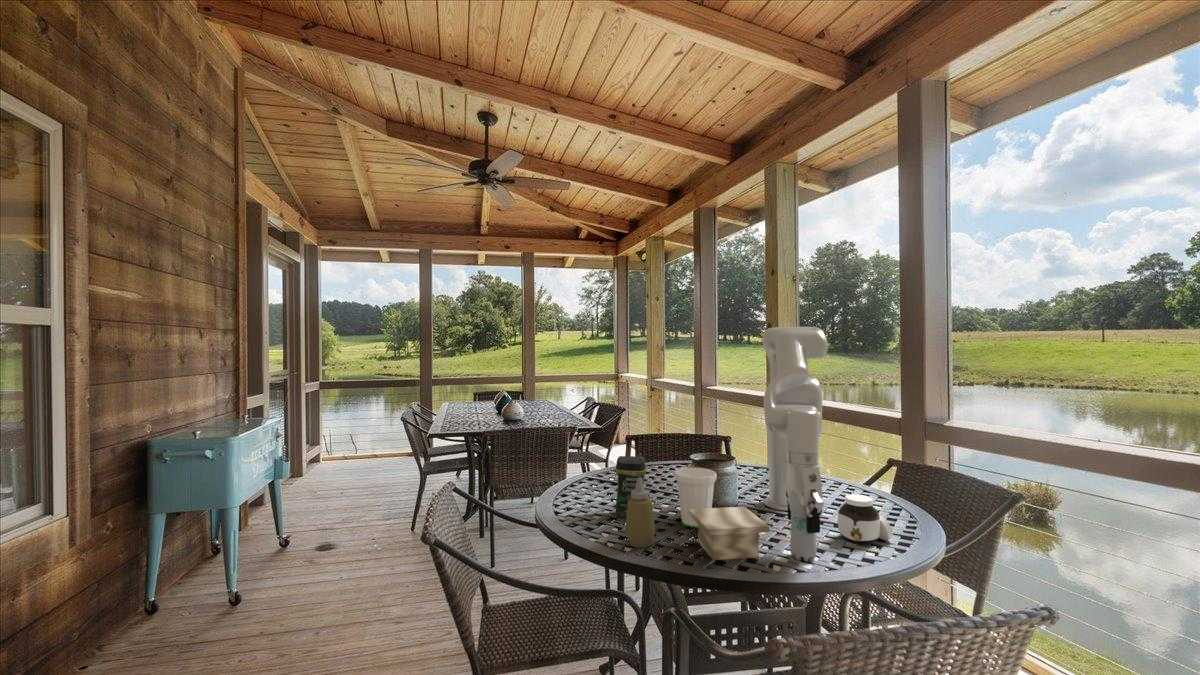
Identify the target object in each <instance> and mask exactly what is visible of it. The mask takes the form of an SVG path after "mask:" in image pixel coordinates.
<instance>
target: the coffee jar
mask: <svg viewBox="0 0 1200 675" xmlns="http://www.w3.org/2000/svg"><path fill="white" fill-rule="evenodd" d="M646 466H647V465H646V460H645V457H644V456H635V455H634V456H632V455H625V456H624V455H619V456H618V458H617V459H616V465H615V472H616V475H617V492H616V500H615V501H616V502H615V515H616V516H618V517H619V518H625V519H626V517H627V507H628V500H629V499H630V498H632V497H631V492H632V490H635V488H636V483H637V479H638V478H642V481H643V485H644V486H645V475H646V472H647V467H646Z"/></svg>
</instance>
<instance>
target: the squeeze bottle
mask: <svg viewBox="0 0 1200 675" xmlns="http://www.w3.org/2000/svg"><path fill="white" fill-rule="evenodd" d="M631 497H632V498H630V499H629V500H628V507H627V517H626V518H625V520H626V521H625V530H624V531H625V534H626V537H627V541H628V543H629V545H630V546H631V547H632V548H633V547H634V548H637V549H638V548H639V549H642V548H648V547H650V546H651V545H652V543H653V539H654V535H655V533H656V526H655V520H654V519H655V518H654V509H653V508H654V507H653V501H652V499H650V498H649V491H648V490H647V489H645V484H644V485H643V481H642V478H638V479H637V483H636V488H635V490H632V492H631Z"/></svg>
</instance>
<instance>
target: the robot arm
mask: <svg viewBox="0 0 1200 675" xmlns="http://www.w3.org/2000/svg"><path fill="white" fill-rule="evenodd" d="M762 345H763V348H764V351H765V353H766V356H767V359H768V362H769V367H770V368H769V371H770V372H769V376H770V377H769V380H770V381H769V382H770V383H769V384H768V386H767V387H766V389H765V392H764V395H763V413H764V414H763V416H764V424H765V428H766V435H767V441H768V442H767V443H768V497H765V499H764V502H763V503H764V505H765V506H766V507H768V508H770V509H775V510H779V511H787V520H789V521H791V510H790V508H789V507H790V505H789V501H790V493H791V491H794V492H795V493H796V494H797V495H798V498H799V502H800V504H801V505H802V506H804V507H806V510H807V513H808V516H807V532H808V533H816V534H818V533H820V532H821V517H822V513H823V508H824V501H823V487H822V486H823V485H822V484H823V483H822V476H821V475H822V474H821V470H820V466H819V463H820V461H819V458H820V457H819V451H820V450H819V448H820V447H819V438H821V436H822V433H823V432H822V431H823V390H822V386H821V383H820V381H819V380H818V379H817V378H813V377H810V369H809V363H808V361H809V360H808V359H816V360H817V359H818V360H821V359H824V358H825V357H826V356H827V354H828V348H829V347H828V346H829V345H828V339H827V336H826V334H825V332H824V331H823V330H822V329H820V328H819V327H816V326H776V327H769V328H767V329H765V330H764V331H763V333H762ZM808 502H812V503H810V504H808ZM812 507H814V508H813V510H812V511H811V509H810V508H812Z"/></svg>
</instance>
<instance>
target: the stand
mask: <svg viewBox="0 0 1200 675" xmlns="http://www.w3.org/2000/svg"><path fill="white" fill-rule="evenodd" d="M689 515H690V516H691V517H692V519H693V520H694V521H695V522H696V523H697V524H698V529H697V530H698V534H697V536H698V538H697V539H698V542H697V543H700V544H699V545H700V546H701V547H702V548H703V550H704V551H705V552H706V553H707V555H708V556H709V557H710V558H711V560H712V561H718V560H719V561H721V560H722V561H723V560H734V559H735V560H736V559H737V560H739V559H752V558H759V557H760V555H759V554H760V552H759V551H760V550H759V548H760V546H759V545H760V542H759V538H760V537H759V533H760V534H762V533H770V525H769V524H767V523H766V522H765V521H764V520H762V519H761V518H760V517H758V516H757V515H756V514H755V513H753V512H752V511H751V510H750V509H748V508H747V507H746V506H730V507H729V506H728V507H727V506H726V507H712V508H705V509H689Z"/></svg>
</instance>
